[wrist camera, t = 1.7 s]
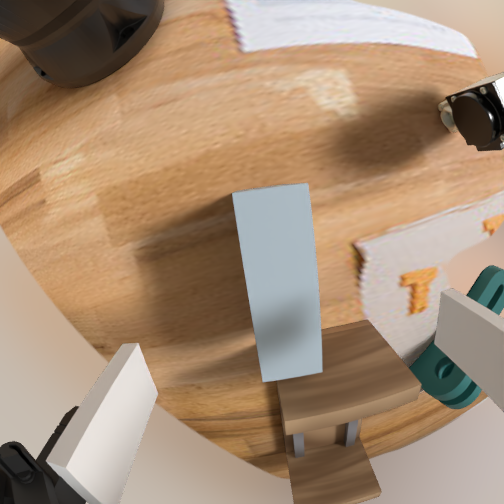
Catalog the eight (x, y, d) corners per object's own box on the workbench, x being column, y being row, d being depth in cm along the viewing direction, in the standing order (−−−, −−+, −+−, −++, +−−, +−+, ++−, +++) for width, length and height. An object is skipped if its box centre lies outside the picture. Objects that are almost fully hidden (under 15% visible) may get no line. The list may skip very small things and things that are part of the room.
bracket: (429, 385, 29) (456, 419, 22) (406, 368, 28) (437, 407, 21) (504, 283, 26) (541, 302, 19) (490, 255, 25) (533, 272, 18)
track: (270, 338, 26) (284, 421, 15) (367, 319, 26) (421, 384, 15) (286, 453, 31) (295, 517, 20) (356, 438, 31) (379, 496, 20)
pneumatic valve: (408, 111, 21) (494, 83, 10) (466, 83, 20) (537, 62, 9) (433, 161, 23) (523, 159, 11) (486, 125, 21) (559, 117, 10)
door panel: (236, 190, 23) (231, 193, 14) (284, 184, 23) (308, 183, 14) (257, 321, 26) (262, 382, 17) (299, 314, 26) (322, 372, 17)
